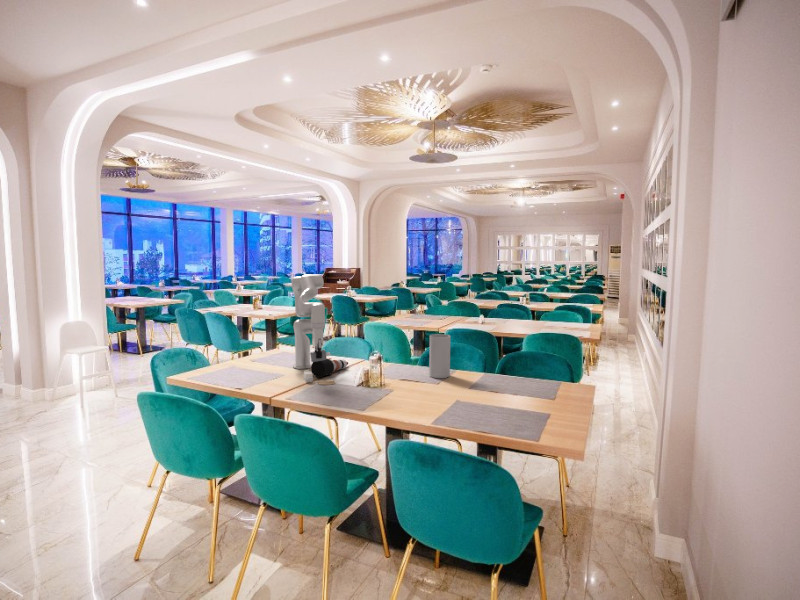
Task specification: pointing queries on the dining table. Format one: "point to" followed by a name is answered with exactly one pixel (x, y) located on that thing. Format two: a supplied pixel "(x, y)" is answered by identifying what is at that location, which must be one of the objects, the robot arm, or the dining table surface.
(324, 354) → the grey plug
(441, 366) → the cylinder vase
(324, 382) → the cork coaster
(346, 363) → the black capped bottle
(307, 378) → the cream plug
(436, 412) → the dining table surface
